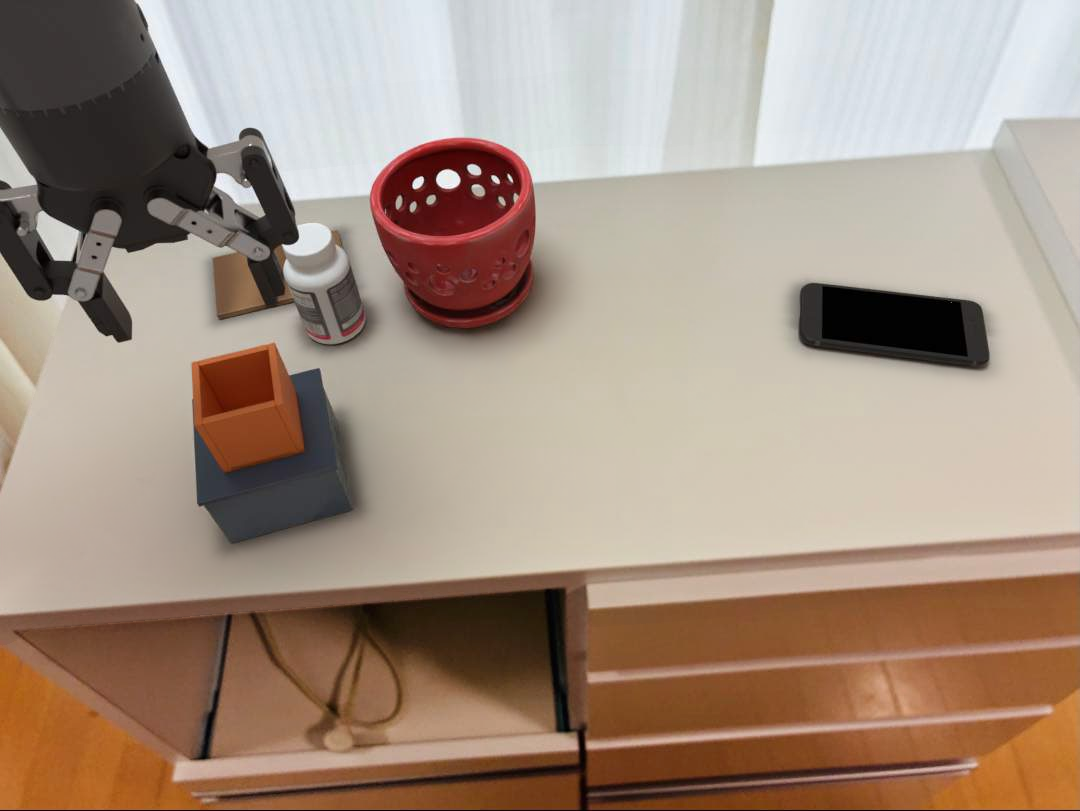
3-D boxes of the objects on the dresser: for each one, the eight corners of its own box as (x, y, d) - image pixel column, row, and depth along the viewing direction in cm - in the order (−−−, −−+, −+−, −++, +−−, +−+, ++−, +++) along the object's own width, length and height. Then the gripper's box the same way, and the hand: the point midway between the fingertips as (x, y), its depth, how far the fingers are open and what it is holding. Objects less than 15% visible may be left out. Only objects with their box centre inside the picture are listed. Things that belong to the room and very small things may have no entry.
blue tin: (227, 547, 60) (197, 504, 55) (220, 446, 65) (191, 399, 60) (356, 511, 61) (337, 466, 56) (338, 415, 67) (319, 367, 62)
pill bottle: (359, 295, 75) (333, 209, 67) (372, 336, 72) (347, 250, 64) (300, 312, 74) (267, 226, 66) (311, 353, 71) (278, 269, 63)
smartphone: (799, 285, 73) (801, 277, 73) (979, 306, 71) (983, 298, 70) (796, 346, 69) (799, 339, 68) (988, 371, 66) (992, 364, 66)
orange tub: (224, 473, 56) (194, 425, 52) (219, 411, 60) (190, 362, 55) (305, 452, 57) (283, 403, 53) (296, 392, 60) (274, 342, 56)
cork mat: (219, 319, 74) (216, 315, 73) (214, 262, 79) (212, 257, 78) (351, 288, 76) (350, 283, 75) (339, 234, 80) (337, 229, 80)
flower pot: (414, 239, 79) (391, 130, 70) (549, 249, 78) (544, 138, 68) (378, 339, 72) (347, 231, 62) (527, 352, 70) (518, 243, 60)
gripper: (-129, 137, 33) (73, 391, 46) (232, 66, 35) (328, 329, 48) (-96, 45, 37) (79, 300, 50) (222, -13, 39) (312, 247, 52)
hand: (200, 314), depth 49 cm, fingers open, 8 cm apart
